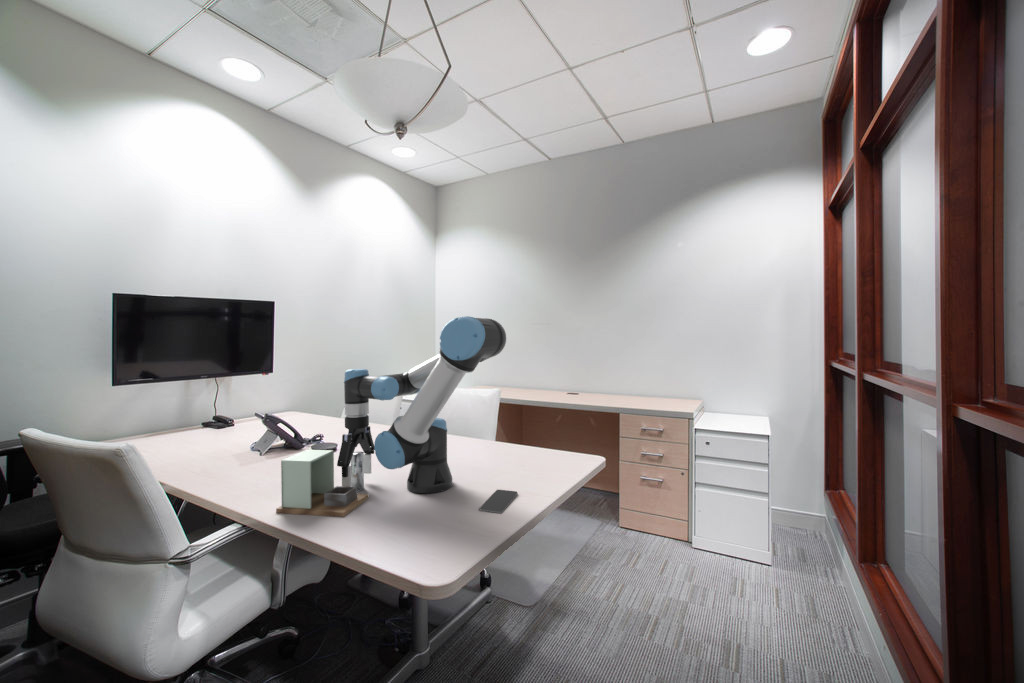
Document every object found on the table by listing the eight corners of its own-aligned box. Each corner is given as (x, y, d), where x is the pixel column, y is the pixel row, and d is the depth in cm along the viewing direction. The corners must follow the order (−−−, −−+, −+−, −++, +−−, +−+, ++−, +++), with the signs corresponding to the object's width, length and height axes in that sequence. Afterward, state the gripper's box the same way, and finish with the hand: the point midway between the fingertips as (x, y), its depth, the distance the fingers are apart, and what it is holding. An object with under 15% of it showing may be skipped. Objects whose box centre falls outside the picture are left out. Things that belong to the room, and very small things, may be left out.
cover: (334, 493, 131) (333, 450, 131) (310, 508, 120) (309, 461, 120) (308, 492, 133) (307, 449, 133) (281, 507, 121) (281, 460, 121)
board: (368, 498, 131) (368, 483, 131) (343, 516, 117) (343, 500, 117) (307, 494, 134) (307, 480, 134) (276, 512, 120) (276, 496, 120)
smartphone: (477, 509, 120) (496, 489, 135) (477, 512, 120) (496, 492, 135) (501, 512, 118) (518, 491, 133) (501, 515, 118) (518, 494, 133)
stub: (366, 487, 140) (365, 451, 140) (360, 491, 137) (359, 454, 136) (355, 486, 141) (354, 451, 141) (348, 491, 137) (348, 454, 137)
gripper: (364, 409, 151) (365, 467, 152) (324, 422, 127) (325, 492, 127) (384, 409, 150) (384, 468, 150) (347, 422, 126) (347, 493, 126)
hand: (357, 479), depth 139 cm, fingers open, 12 cm apart
